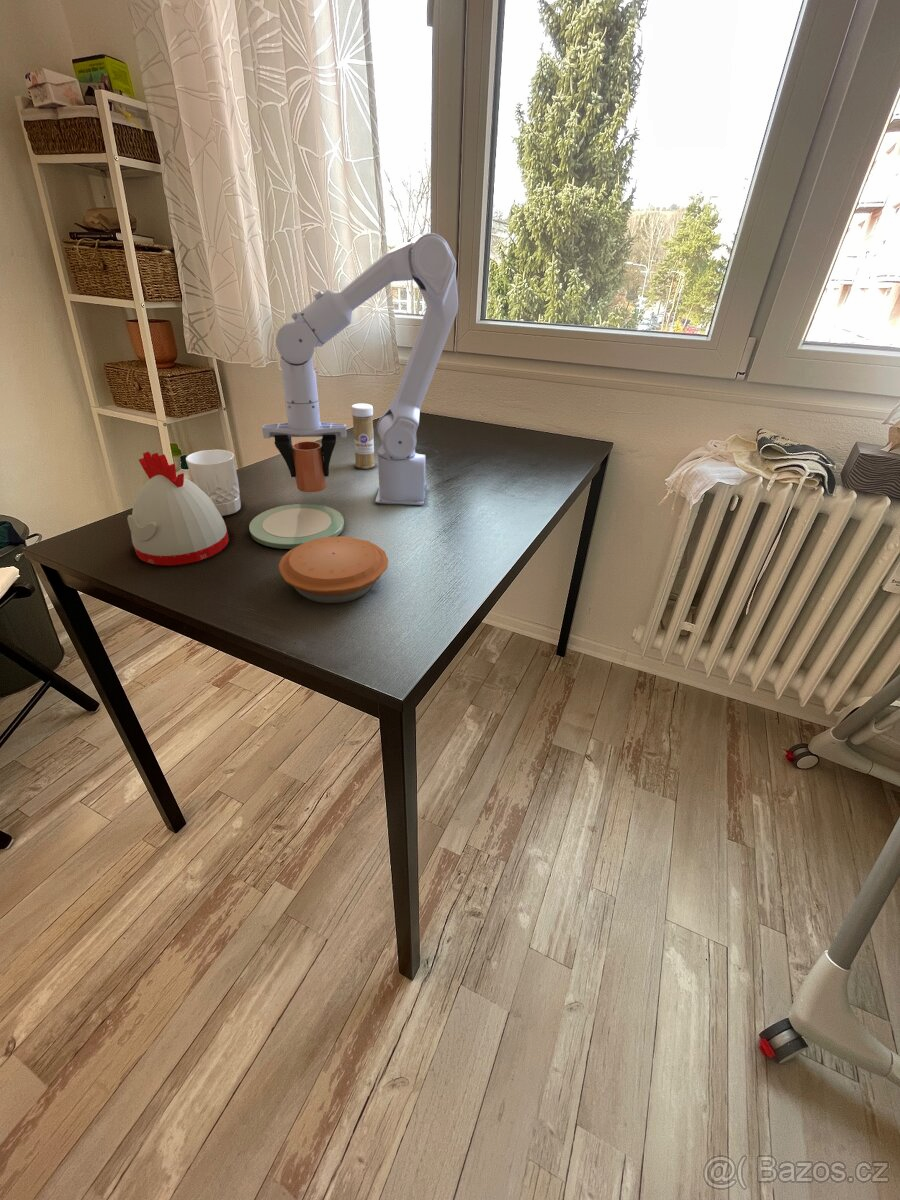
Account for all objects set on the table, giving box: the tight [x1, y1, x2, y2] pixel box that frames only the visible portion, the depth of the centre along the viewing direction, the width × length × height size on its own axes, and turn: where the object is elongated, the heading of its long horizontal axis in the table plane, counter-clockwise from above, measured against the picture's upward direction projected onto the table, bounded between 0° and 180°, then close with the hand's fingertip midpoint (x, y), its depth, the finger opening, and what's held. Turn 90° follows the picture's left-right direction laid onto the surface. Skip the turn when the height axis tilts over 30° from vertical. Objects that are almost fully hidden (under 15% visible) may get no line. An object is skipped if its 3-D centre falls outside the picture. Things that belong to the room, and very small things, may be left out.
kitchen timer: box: [126, 451, 230, 566], centre depth 79 cm, size 14×14×15 cm
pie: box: [278, 535, 389, 604], centre depth 74 cm, size 16×16×5 cm
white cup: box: [185, 449, 242, 517], centre depth 92 cm, size 8×8×10 cm
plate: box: [248, 503, 345, 550], centre depth 89 cm, size 16×16×1 cm
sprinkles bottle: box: [350, 402, 376, 470], centre depth 113 cm, size 5×5×13 cm
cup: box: [291, 440, 327, 493], centre depth 96 cm, size 5×5×8 cm
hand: (310, 475), depth 97 cm, fingers closed on cup, 5 cm apart
